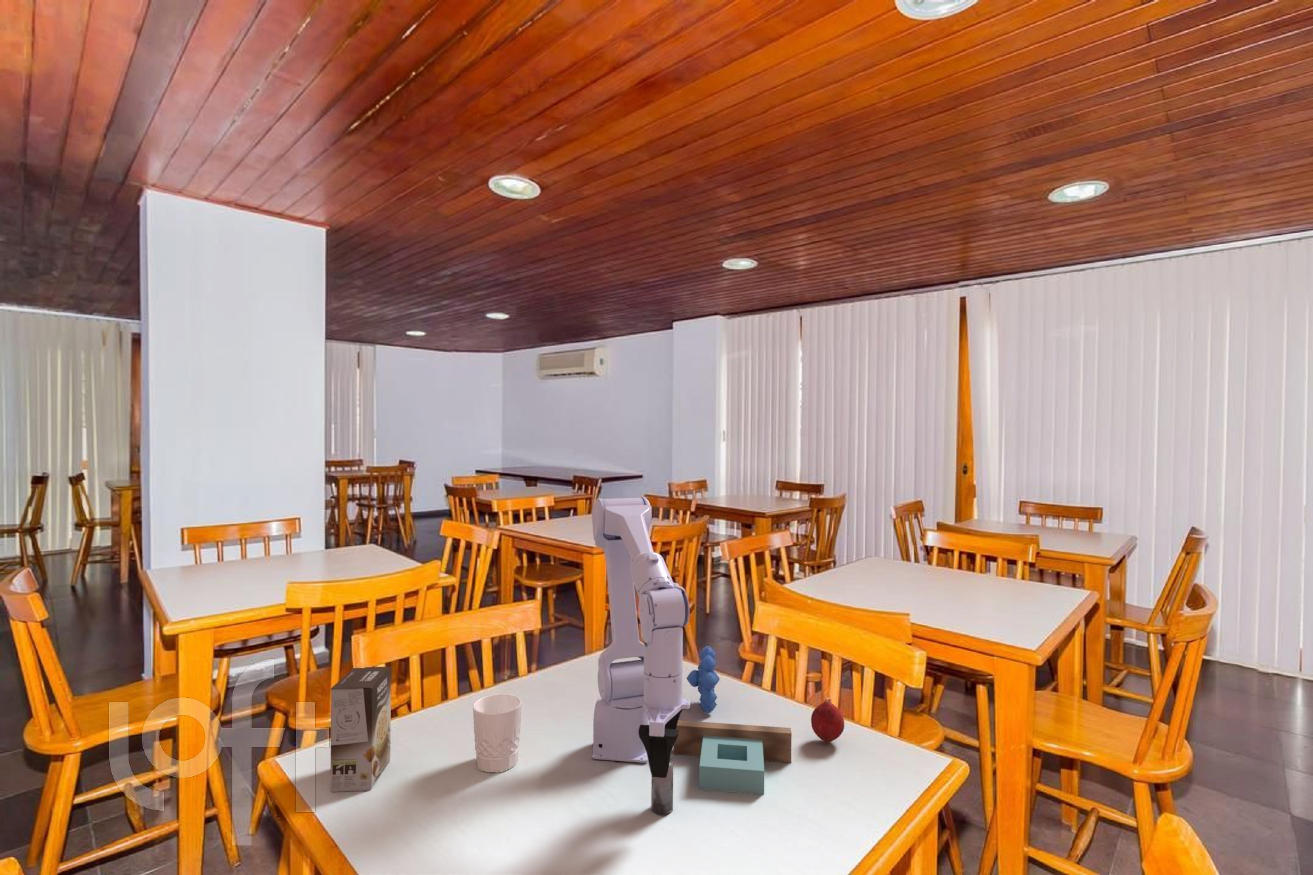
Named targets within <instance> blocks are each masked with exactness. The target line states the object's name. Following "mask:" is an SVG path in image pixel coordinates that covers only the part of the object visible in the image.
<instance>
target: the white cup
mask: <svg viewBox="0 0 1313 875" xmlns="http://www.w3.org/2000/svg"><path fill="white" fill-rule="evenodd" d="M472 711H473V712H472V713H473V714H472V716H473V734H474V750H475V753H476V754H475V755H476V757H475V758H476V760H475V761H476V766H477V769H479V770H480V771H482V772H484V771H485V772H484V773H489V772H496V773H502V772H505V771H507V770H506V769H509V770H510V769H512V768H513V767H515V766H516V765H517V762H519V746H520V740H521V739H520V738H521V737H520V736H521V735H520V733H521V721H522V720H521V719H522V716H521V715H522V699H521V698H520V697H519V696H517V695H514V694H510V693H509V694H508V693H496V694H489V695H486V696H483V697H481V698H479V699H478V700H476V701H475V702H474V703H473V706H472ZM501 771H502V772H501Z"/></svg>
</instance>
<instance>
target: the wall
mask: <svg viewBox="0 0 1313 875" xmlns="http://www.w3.org/2000/svg"><path fill="white" fill-rule="evenodd" d="M676 730H679V734H678V737H677V739H676V741H675V743H674V745H673V749H672V751H673V752H672V753H673V754H674V755H681V756H683V755H684V756H692V757H693V756H695V757H696V756H697V757H701V750H702V742H703V735H705V736H719V737H733V738H747V739H761V740H762V743H763V758H764V762H774V763H775V762H777V763H788V764H789V763H792V737H793V736H792V728H791V727H786V726H785V727H783V726H767V725H753V724H739V723H727V722H726V723H724V722H710V721H696V720H695V721H693V720H680V719H679V720H678V723H677V728H676Z"/></svg>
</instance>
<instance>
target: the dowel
mask: <svg viewBox="0 0 1313 875" xmlns="http://www.w3.org/2000/svg"><path fill="white" fill-rule="evenodd" d="M650 784H651V787H650V788H651V790H650V791H651V792H650V794H651V797H650V798H651V800H650V801H651V802H650V804H651V805H650V807H651V808H650V809H651V812H652V813H653V814H655V815H657V816H663V817H665V816H668V815H671V813H673V811H674V761H673V758H670V763H669V769H668V773H667V776H666V778H659V777H652V776H651V783H650Z"/></svg>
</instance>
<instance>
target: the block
mask: <svg viewBox="0 0 1313 875" xmlns="http://www.w3.org/2000/svg"><path fill="white" fill-rule="evenodd" d="M698 772H699V777H698V778H699V780H698V781H699V788H698V790H701V791H702V790H703V791H715V792H727V793H728V792H729V793H740V794H741V793H742V794H754V795H765V761H764V758H763V743H762V740H761V739H747V738H733V737H719V736H705V735H703V742H702V750H701V756H700V758H699V770H698Z"/></svg>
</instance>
